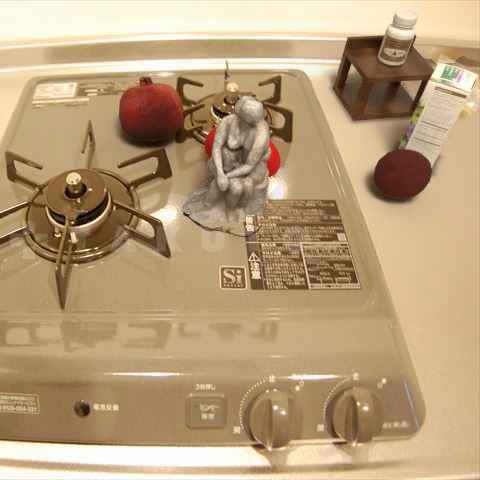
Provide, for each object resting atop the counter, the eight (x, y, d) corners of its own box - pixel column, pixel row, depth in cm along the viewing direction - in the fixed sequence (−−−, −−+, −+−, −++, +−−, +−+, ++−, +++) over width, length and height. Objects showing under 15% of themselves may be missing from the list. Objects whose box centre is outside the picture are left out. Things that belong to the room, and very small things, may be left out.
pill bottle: (377, 64, 90) (393, 18, 84) (376, 51, 92) (391, 6, 87) (405, 68, 89) (422, 22, 83) (403, 55, 92) (420, 9, 86)
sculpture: (182, 80, 67) (269, 71, 70) (170, 194, 79) (244, 182, 82) (217, 130, 59) (312, 117, 62) (198, 247, 72) (278, 231, 75)
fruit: (110, 148, 88) (98, 84, 84) (155, 132, 94) (145, 72, 90) (156, 152, 80) (144, 82, 76) (201, 134, 86) (192, 69, 82)
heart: (210, 98, 77) (214, 139, 86) (194, 128, 76) (199, 166, 85) (290, 123, 74) (285, 163, 83) (274, 155, 72) (271, 192, 81)
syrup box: (401, 143, 89) (436, 60, 78) (438, 155, 87) (480, 72, 76) (391, 162, 85) (427, 78, 75) (430, 175, 83) (472, 91, 73)
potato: (430, 198, 80) (450, 160, 74) (392, 216, 77) (410, 178, 72) (393, 170, 84) (409, 132, 79) (355, 185, 81) (370, 147, 76)
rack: (395, 84, 101) (414, 33, 93) (420, 116, 94) (443, 63, 87) (332, 88, 99) (347, 36, 92) (353, 120, 93) (371, 67, 85)
